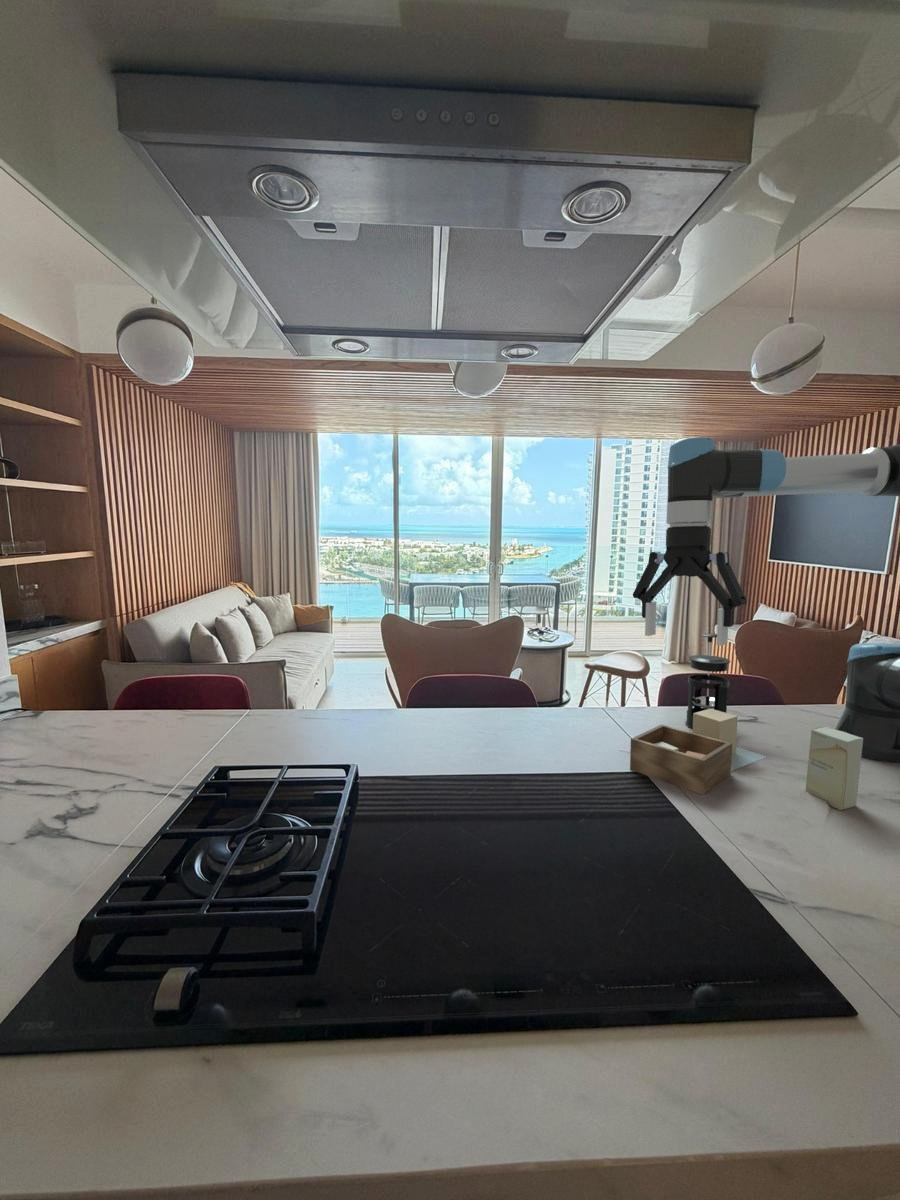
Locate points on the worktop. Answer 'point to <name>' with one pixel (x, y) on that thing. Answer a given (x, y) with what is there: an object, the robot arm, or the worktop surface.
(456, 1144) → the worktop surface
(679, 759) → the box
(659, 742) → the cube cream
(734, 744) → the lid
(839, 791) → the skincare box
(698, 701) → the french press
